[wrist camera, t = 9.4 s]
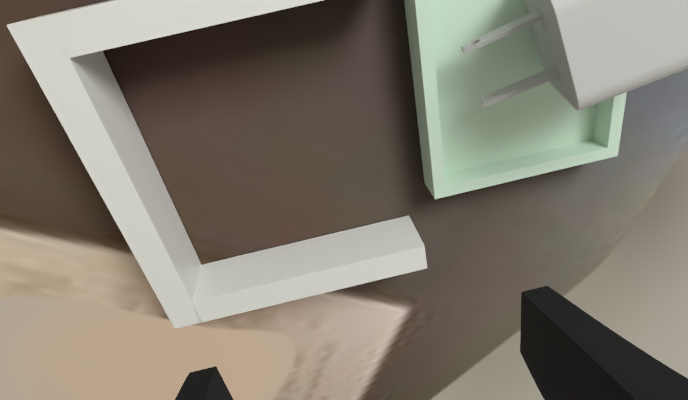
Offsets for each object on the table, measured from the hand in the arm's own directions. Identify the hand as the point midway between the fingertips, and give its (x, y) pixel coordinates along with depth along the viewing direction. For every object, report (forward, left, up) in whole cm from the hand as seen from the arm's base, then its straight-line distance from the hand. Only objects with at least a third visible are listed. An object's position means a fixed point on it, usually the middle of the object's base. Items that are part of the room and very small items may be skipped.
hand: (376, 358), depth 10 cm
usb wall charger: (+4, -9, -9) cm, 14 cm away
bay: (+2, +2, -10) cm, 10 cm away
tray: (+4, -8, -10) cm, 13 cm away
